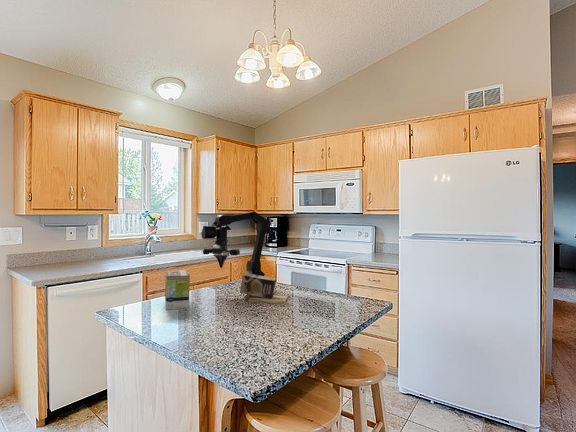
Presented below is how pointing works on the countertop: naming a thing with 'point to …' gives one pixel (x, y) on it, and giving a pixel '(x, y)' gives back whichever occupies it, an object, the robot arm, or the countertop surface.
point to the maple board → (266, 300)
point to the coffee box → (258, 285)
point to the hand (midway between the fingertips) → (221, 267)
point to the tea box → (177, 289)
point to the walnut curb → (247, 297)
